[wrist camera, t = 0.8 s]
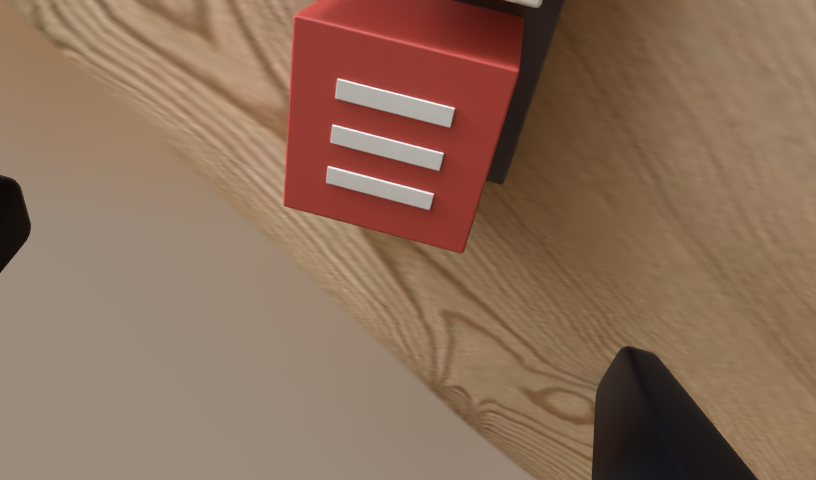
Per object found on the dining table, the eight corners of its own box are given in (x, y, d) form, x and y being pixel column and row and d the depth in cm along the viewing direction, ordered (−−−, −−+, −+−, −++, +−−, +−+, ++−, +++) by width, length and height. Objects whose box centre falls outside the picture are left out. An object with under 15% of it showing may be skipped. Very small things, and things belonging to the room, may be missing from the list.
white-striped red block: (479, 169, 16) (462, 256, 13) (337, 133, 16) (281, 208, 13) (524, 17, 14) (520, 71, 10) (355, -24, 14) (291, 15, 10)
